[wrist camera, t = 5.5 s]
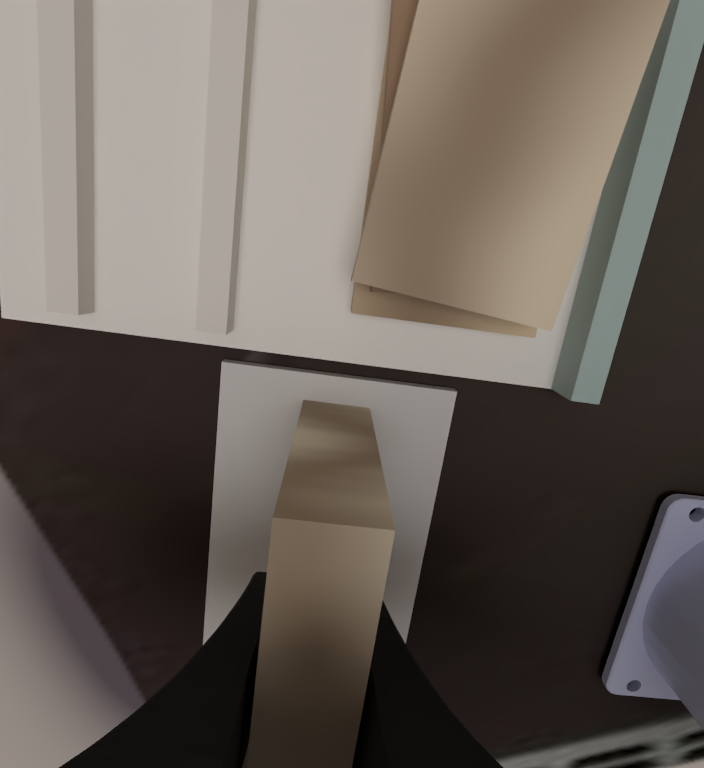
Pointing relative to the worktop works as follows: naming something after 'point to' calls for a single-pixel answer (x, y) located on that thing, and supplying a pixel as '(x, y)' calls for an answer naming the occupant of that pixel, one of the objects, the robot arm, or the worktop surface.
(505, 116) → the offcut stack
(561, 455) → the worktop surface
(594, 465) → the worktop surface
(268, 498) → the felt pad
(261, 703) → the birch panel
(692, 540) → the robot arm
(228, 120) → the board
